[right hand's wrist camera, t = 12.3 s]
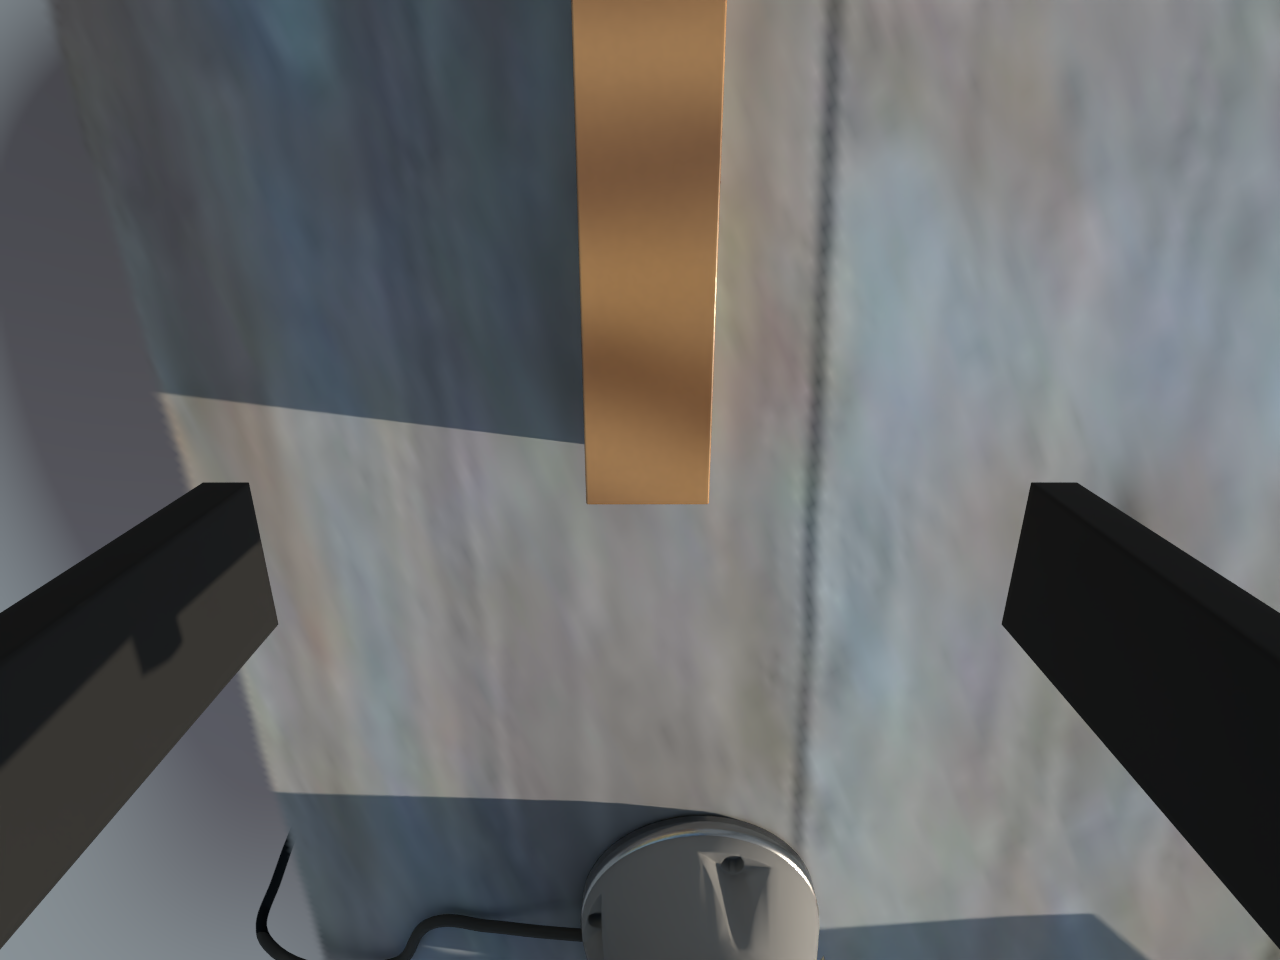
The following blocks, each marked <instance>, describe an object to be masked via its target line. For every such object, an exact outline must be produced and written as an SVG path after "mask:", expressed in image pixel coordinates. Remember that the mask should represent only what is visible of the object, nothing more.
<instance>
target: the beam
mask: <svg viewBox="0 0 1280 960" xmlns="http://www.w3.org/2000/svg"><path fill="white" fill-rule="evenodd" d="M726 8H727V0H571V11H572V44H573V77H574V110H575V144H576V177H577V210H578V243H579V276H580V310H581V343H582V376H583V409H584V442H585V476H586V503H587V504H708V503H709V481H710V453H711V425H712V398H713V370H714V342H715V314H716V286H717V258H718V230H719V203H720V175H721V147H722V119H723V91H724V63H725V35H726Z"/></svg>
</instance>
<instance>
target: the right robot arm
mask: <svg viewBox="0 0 1280 960" xmlns="http://www.w3.org/2000/svg"><path fill="white" fill-rule="evenodd" d="M277 625H278V620H277V616H276V611H275V606H274V601H273V596H272V592H271V587H270V582H269V577H268V572H267V568H266V563H265V558H264V553H263V549H262V544H261V539H260V534H259V529H258V525H257V520H256V515H255V510H254V505H253V501H252V496H251V491H250V486H249V483H202V484H200V485H199V486H197V487H196V488H194V489H192V490H191V491H189V492H188V493H186V494H185V495H183V496H182V497H180V498H178V499H177V500H175V501H174V502H172V503H171V504H169V505H168V506H166V507H164V508H163V509H161V510H160V511H158V512H157V513H155V514H154V515H152V516H150V517H149V518H147V519H146V520H144V521H143V522H141V523H140V524H138V525H136V526H135V527H133V528H132V529H130V530H129V531H127V532H126V533H124V534H123V535H121V536H119V537H118V538H116V539H115V540H113V541H112V542H110V543H109V544H107V545H105V546H104V547H102V548H101V549H99V550H98V551H96V552H95V553H93V554H91V555H90V556H88V557H87V558H85V559H84V560H82V561H81V562H79V563H77V564H76V565H74V566H73V567H71V568H70V569H68V570H67V571H65V572H63V573H62V574H60V575H59V576H57V577H56V578H54V579H53V580H51V581H49V582H48V583H46V584H45V585H43V586H42V587H40V588H39V589H37V590H36V591H34V592H32V593H31V594H29V595H28V596H26V597H25V598H23V599H22V600H20V601H18V602H17V603H15V604H14V605H12V606H11V607H9V608H8V609H6V610H4V611H3V612H1V613H0V949H1V948H2V947H3V945H4V944H5V943H6V942H7V941H8V940H9V938H10V937H11V936H12V935H13V934H14V932H15V931H16V930H17V929H18V928H19V927H20V926H21V924H22V923H23V922H24V921H25V920H26V919H27V917H28V916H29V915H30V914H31V913H32V912H33V910H34V909H35V908H36V907H37V906H38V905H39V903H40V902H41V901H42V900H43V899H44V898H45V896H46V895H47V894H48V893H49V892H50V891H51V889H52V888H53V887H54V886H55V885H56V883H57V882H58V881H59V880H60V879H61V878H62V876H63V875H64V874H65V873H66V872H67V871H68V869H69V868H70V867H71V866H72V865H73V864H74V862H75V861H76V860H77V859H78V858H79V857H80V855H81V854H82V853H83V852H84V851H85V850H86V848H87V847H88V846H89V845H90V844H91V843H92V841H93V840H94V839H95V838H96V837H97V836H98V834H99V833H100V832H101V831H102V830H103V828H104V827H105V826H106V825H107V824H108V823H109V821H110V820H111V819H112V818H113V817H114V816H115V815H116V813H117V812H118V811H119V810H120V809H121V808H122V806H123V805H124V804H125V803H126V802H127V800H128V799H129V798H130V797H131V796H132V795H133V793H134V792H135V791H136V790H137V789H138V788H139V786H140V785H141V784H142V783H143V782H144V781H145V779H146V778H147V777H148V776H149V775H150V774H151V772H152V771H153V770H154V769H155V768H156V767H157V765H158V764H159V763H160V762H161V761H162V760H163V758H164V757H165V756H166V755H167V754H168V753H169V751H170V750H171V749H172V748H173V747H174V745H175V744H176V743H177V742H178V741H179V740H180V739H181V737H182V736H183V735H184V734H185V733H186V732H187V730H188V729H189V728H190V727H191V726H192V724H193V723H194V722H195V721H196V720H197V719H198V717H199V716H200V715H201V714H202V713H203V712H204V710H205V709H206V708H207V707H208V706H209V705H210V703H211V702H212V701H213V700H214V699H215V698H216V696H217V695H218V694H219V693H220V692H221V691H222V689H223V688H224V687H225V686H226V685H227V684H228V682H229V681H230V680H231V679H232V678H233V677H234V675H235V674H236V673H237V672H238V671H239V670H240V668H241V667H242V666H243V665H244V664H245V663H246V661H247V660H248V659H249V658H250V657H251V656H252V654H253V653H254V652H255V651H256V650H257V649H258V647H259V646H260V645H261V644H262V643H263V642H264V640H265V639H266V638H267V637H268V636H269V635H270V633H271V632H272V631H273V630H274V629H275V627H276V626H277ZM1002 625H1003V626H1004V628H1005V629H1006V630H1007V631H1008V632H1009V633H1010V635H1011V636H1012V637H1013V638H1014V639H1015V640H1016V642H1017V643H1018V644H1019V645H1020V646H1021V647H1022V649H1023V650H1024V651H1025V652H1026V653H1027V654H1028V656H1029V657H1030V658H1031V659H1032V660H1033V661H1034V663H1035V664H1036V665H1037V666H1038V667H1039V668H1040V670H1041V671H1042V672H1043V673H1044V674H1045V675H1046V677H1047V678H1048V679H1049V680H1050V681H1051V682H1052V684H1053V685H1054V686H1055V687H1056V688H1057V689H1058V691H1059V692H1060V693H1061V694H1062V695H1063V696H1064V698H1065V699H1066V700H1067V701H1068V702H1069V703H1070V705H1071V706H1072V707H1073V708H1074V709H1075V710H1076V712H1077V713H1078V714H1079V715H1080V716H1081V718H1082V719H1083V720H1084V721H1085V722H1086V723H1087V725H1088V726H1089V727H1090V728H1091V729H1092V730H1093V732H1094V733H1095V734H1096V735H1097V736H1098V737H1099V739H1100V740H1101V741H1102V742H1103V743H1104V744H1105V746H1106V747H1107V748H1108V749H1109V750H1110V751H1111V753H1112V754H1113V755H1114V756H1115V757H1116V758H1117V760H1118V761H1119V762H1120V763H1121V764H1122V765H1123V767H1124V768H1125V769H1126V770H1127V771H1128V772H1129V774H1130V775H1131V776H1132V777H1133V778H1134V779H1135V781H1136V782H1137V783H1138V784H1139V785H1140V786H1141V788H1142V789H1143V790H1144V791H1145V792H1146V793H1147V795H1148V796H1149V797H1150V798H1151V799H1152V801H1153V802H1154V803H1155V804H1156V805H1157V806H1158V808H1159V809H1160V810H1161V811H1162V812H1163V813H1164V815H1165V816H1166V817H1167V818H1168V819H1169V820H1170V822H1171V823H1172V824H1173V825H1174V826H1175V827H1176V829H1177V830H1178V831H1179V832H1180V833H1181V834H1182V836H1183V837H1184V838H1185V839H1186V840H1187V841H1188V843H1189V844H1190V845H1191V846H1192V847H1193V848H1194V850H1195V851H1196V852H1197V853H1198V854H1199V855H1200V857H1201V858H1202V859H1203V860H1204V861H1205V862H1206V864H1207V865H1208V866H1209V867H1210V868H1211V869H1212V871H1213V872H1214V873H1215V874H1216V875H1217V876H1218V878H1219V879H1220V880H1221V881H1222V882H1223V883H1224V885H1225V886H1226V887H1227V888H1228V889H1229V891H1230V892H1231V893H1232V894H1233V895H1234V896H1235V898H1236V899H1237V900H1238V901H1239V902H1240V903H1241V905H1242V906H1243V907H1244V908H1245V909H1246V910H1247V912H1248V913H1249V914H1250V915H1251V916H1252V917H1253V919H1254V920H1255V921H1256V922H1257V923H1258V924H1259V926H1260V927H1261V928H1262V929H1263V930H1264V931H1265V933H1266V934H1267V935H1268V936H1269V937H1270V938H1271V940H1272V941H1273V942H1274V943H1275V944H1276V945H1277V947H1278V948H1279V949H1280V613H1279V612H1277V611H1276V610H1274V609H1273V608H1271V607H1269V606H1268V605H1266V604H1265V603H1263V602H1262V601H1260V600H1259V599H1257V598H1255V597H1254V596H1252V595H1251V594H1249V593H1248V592H1246V591H1245V590H1243V589H1241V588H1240V587H1238V586H1237V585H1235V584H1234V583H1232V582H1231V581H1229V580H1227V579H1226V578H1224V577H1223V576H1221V575H1220V574H1218V573H1217V572H1215V571H1213V570H1212V569H1210V568H1209V567H1207V566H1206V565H1204V564H1203V563H1201V562H1199V561H1198V560H1196V559H1195V558H1193V557H1192V556H1190V555H1189V554H1187V553H1185V552H1184V551H1182V550H1181V549H1179V548H1178V547H1176V546H1175V545H1173V544H1172V543H1170V542H1168V541H1167V540H1165V539H1164V538H1162V537H1161V536H1159V535H1158V534H1156V533H1154V532H1153V531H1151V530H1150V529H1148V528H1147V527H1145V526H1144V525H1142V524H1140V523H1139V522H1137V521H1136V520H1134V519H1133V518H1131V517H1130V516H1128V515H1126V514H1125V513H1123V512H1122V511H1120V510H1119V509H1117V508H1116V507H1114V506H1112V505H1111V504H1109V503H1108V502H1106V501H1105V500H1103V499H1102V498H1100V497H1098V496H1097V495H1095V494H1094V493H1092V492H1091V491H1089V490H1088V489H1086V488H1084V487H1083V486H1081V485H1080V484H1078V483H1031V486H1030V491H1029V496H1028V501H1027V505H1026V510H1025V515H1024V520H1023V525H1022V529H1021V534H1020V539H1019V544H1018V549H1017V553H1016V558H1015V563H1014V568H1013V572H1012V577H1011V582H1010V587H1009V592H1008V596H1007V601H1006V606H1005V611H1004V616H1003V620H1002ZM291 852H292V846H291V841H290V839H289V833H288V836H287V838H286V841H285V843H284V846H283V848H282V851H281V854H280V857H279V859H278V862H277V865H276V868H275V871H274V874H273V876H272V879H271V882H270V885H269V887H268V889H267V892H266V894H265V896H264V898H263V901H262V903H261V905H260V908H259V911H258V914H257V918H256V935H257V939H258V941H259V943H260V945H261V946H262V947H263V949H264V950H265V951H266V952H267V953H268V954H269V955H270V956H271V957H272V958H274V959H275V960H306V959H303V958H300V957H297V956H295V955H293V954H291V953H289V952H288V951H286V950H285V949H283V948H282V947H281V946H279V945H278V944H277V943H276V942H275V941H274V940H273V938H272V937H271V936H270V934H269V931H268V928H267V919H268V915H269V911H270V909H271V906H272V904H273V901H274V899H275V896H276V894H277V892H278V889H279V887H280V884H281V881H282V878H283V875H284V872H285V869H286V866H287V863H288V860H289V857H290V854H291ZM438 927H457V928H464V929H469V930H474V931H480V932H489V933H499V934H508V935H516V936H525V937H534V938H544V939H556V940H568V941H580V942H583V945H584V949H585V953H586V957H587V960H817V950H818V938H819V911H818V904H817V900H816V896H815V892H814V888H813V884H812V881H811V877H810V875H809V872H808V870H807V868H806V866H805V864H804V863H803V861H802V860H801V858H800V857H799V856H798V855H797V853H796V852H795V851H794V850H793V849H792V848H791V847H790V846H789V845H787V844H786V843H785V842H784V841H783V840H781V839H780V838H778V837H777V836H775V835H774V834H772V833H770V832H768V831H766V830H764V829H762V828H760V827H758V826H755V825H752V824H750V823H747V822H743V821H739V820H735V819H731V818H725V817H716V816H686V817H678V818H672V819H667V820H663V821H659V822H656V823H653V824H650V825H647V826H645V827H642V828H640V829H638V830H636V831H633V832H631V833H630V834H628V835H626V836H625V837H623V838H621V839H620V840H619V841H617V842H616V843H614V844H613V845H612V846H611V847H610V848H609V849H607V850H606V851H605V852H604V853H603V855H602V856H601V857H600V858H599V859H598V860H597V862H596V863H595V865H594V866H593V868H592V869H591V871H590V873H589V875H588V878H587V880H586V883H585V887H584V891H583V899H582V911H581V929H580V928H566V927H554V926H542V925H532V924H523V923H514V922H506V921H496V920H485V919H479V918H473V917H468V916H463V915H455V914H443V915H437V916H433V917H431V918H428V919H426V920H424V921H422V922H421V923H420V924H419V925H418V926H417V927H416V928H415V929H414V931H413V933H412V935H411V937H410V939H409V941H408V943H407V946H406V948H405V949H404V951H403V952H402V953H401V954H400V955H399V956H397V957H394V958H391V959H387V960H410V959H411V958H412V956H413V954H414V952H415V950H416V948H417V946H418V944H419V941H420V939H421V938H422V936H423V935H424V934H425V933H426V932H428V931H429V930H431V929H434V928H438ZM821 960H825V959H824V956H823V957H822V959H821Z"/></svg>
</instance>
